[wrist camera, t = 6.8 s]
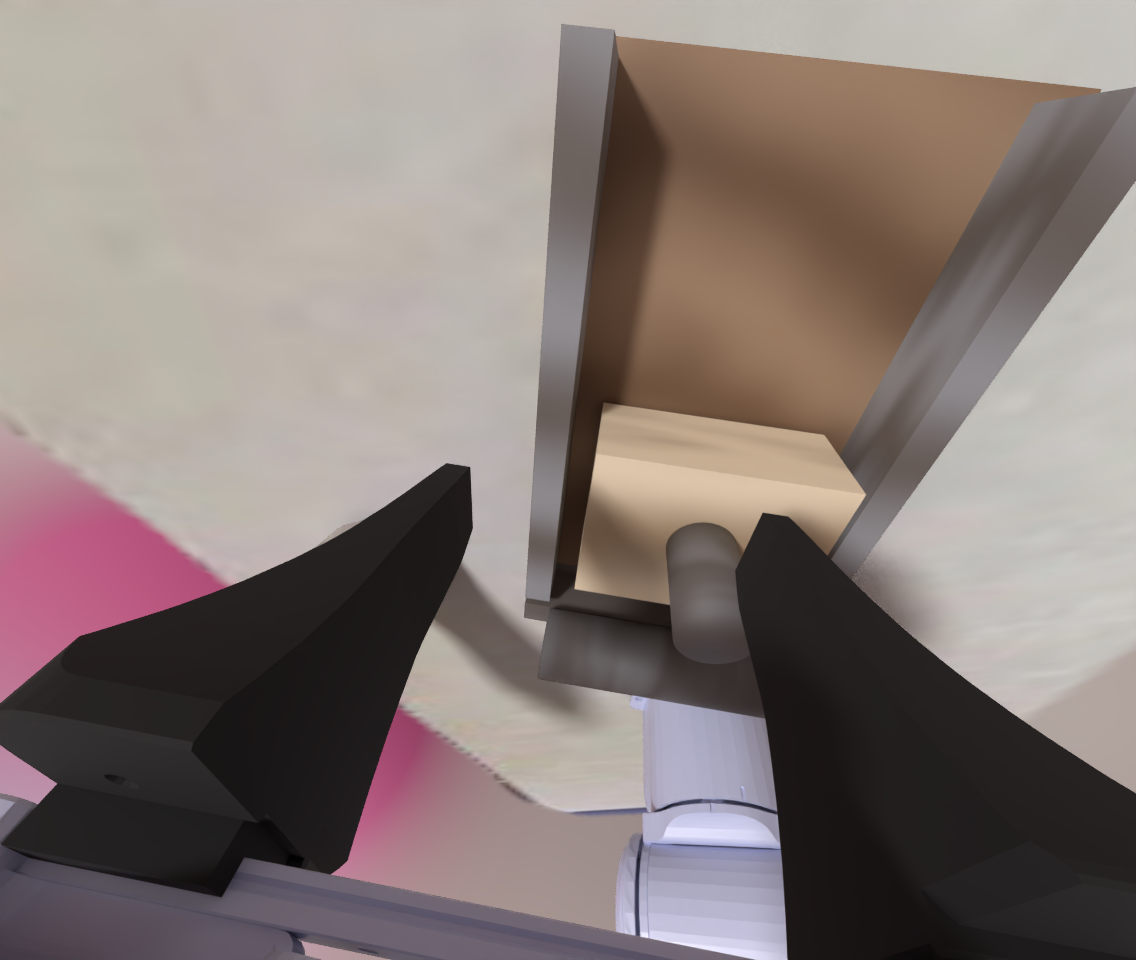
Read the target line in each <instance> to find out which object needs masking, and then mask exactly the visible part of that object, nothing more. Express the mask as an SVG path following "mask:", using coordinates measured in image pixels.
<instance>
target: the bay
mask: <svg viewBox="0 0 1136 960" xmlns="http://www.w3.org/2000/svg"><path fill="white" fill-rule="evenodd" d="M1101 90H1102V89H1094V88H1085V87H1076V86H1067V85H1058V84H1049V83H1039V82H1030V81H1021V80H1012V79H1003V78H994V77H984V76H975V75H966V74H957V73H948V72H939V71H929V70H920V69H911V68H902V67H893V66H884V65H874V64H865V63H856V62H847V61H838V60H829V59H819V58H810V57H801V56H792V55H783V54H774V53H764V52H755V51H746V50H737V49H728V48H719V47H709V46H700V45H691V44H682V43H673V42H664V41H654V40H645V39H636V38H627V37H618V36H615V30H612V29H602V28H593V27H584V26H575V25H565V24H562V25H561V41H560V57H559V73H558V88H557V104H556V120H555V136H554V152H553V168H552V184H551V199H550V215H549V231H548V247H547V263H546V279H545V295H544V310H543V326H542V342H541V358H540V374H539V390H538V406H537V421H536V437H535V453H534V469H533V485H532V501H531V517H530V532H529V548H528V564H527V580H526V596H525V598H526V601H525V612H524V618H529V619H535V620H540V621H546V622H547V624H546V629H545V634H544V640H543V646H542V652H541V659H540V666H539V673H538V679H542V680H548V681H553V682H559V683H565V684H570V685H576V686H582V687H587V688H593V689H599V690H604V691H610V692H616V693H621V694H627V695H633V696H639V697H644V698H650V699H656V700H661V701H667V702H673V703H678V704H684V705H690V706H695V707H701V708H707V709H712V710H718V711H724V712H730V713H735V714H741V715H747V716H752V717H758V718H764V719H765V715H764V710H763V705H762V700H761V696H760V692H759V688H758V684H757V680H756V676H755V672H754V668H753V664H752V660H751V656H748V657H746V658H744V659H742V660H739V661H736V662H732V663H726V664H707V663H702V662H697V661H694V660H692V659H689V658H687V657H685V656H684V655H682V654H681V653H680V652H679V651H678V650H677V649H676V647H675V646H674V643H673V636H672V623H671V610H670V605H667V604H661V603H655V602H649V601H643V600H637V599H631V598H625V597H619V596H613V595H607V594H601V593H595V592H589V591H583V590H577V589H574V588H575V581H576V575H577V568H578V561H579V554H580V547H581V540H582V534H583V527H584V521H585V514H586V508H587V502H588V496H589V489H590V483H591V477H592V471H593V465H594V458H595V452H596V446H597V440H598V433H599V427H600V421H601V415H602V409H603V403H610V404H617V405H624V406H630V407H637V408H644V409H651V410H658V411H665V412H671V413H678V414H685V415H692V416H699V417H705V418H712V419H719V420H726V421H733V422H740V423H746V424H753V425H760V426H767V427H774V428H781V429H787V430H794V431H801V432H808V433H815V434H822V435H825V437H826V438H827V439H828V441H829V442H830V444H831V445H832V447H833V448H834V449H835V451H836V452H837V454H838V455H839V457H840V458H841V459H842V461H843V462H844V464H845V465H846V467H847V468H848V469H849V471H850V472H851V474H852V475H853V477H854V478H855V479H856V481H857V482H858V484H859V485H860V487H861V488H862V489H863V491H864V492H865V494H866V496H865V498H864V499H863V501H862V502H861V504H860V505H859V507H858V509H857V510H856V512H855V513H854V515H853V516H852V518H851V520H850V521H849V523H848V524H847V526H846V527H845V529H844V531H843V532H842V534H841V535H840V537H839V538H838V540H837V541H836V543H835V545H834V546H833V548H832V549H831V551H830V552H829V554H828V557H829V558H830V559H831V560H832V561H833V562H834V563H835V564H836V565H837V566H838V567H839V568H840V569H841V570H842V571H843V572H844V573H845V574H846V575H847V576H848V577H849V578H850V579H851V578H852V577H853V575H854V574H855V573H856V571H857V570H858V568H859V567H860V566H861V564H862V563H863V561H864V560H865V559H866V557H867V556H868V554H869V553H870V552H871V550H872V549H873V547H874V546H875V545H876V543H877V542H878V540H879V539H880V538H881V536H882V535H883V533H884V532H885V531H886V529H887V528H888V526H889V525H890V524H891V522H892V521H893V519H894V518H895V517H896V515H897V514H898V512H899V511H900V510H901V508H902V507H903V505H904V504H905V503H906V501H907V500H908V498H909V497H910V496H911V494H912V493H913V491H914V490H915V489H916V487H917V486H918V484H919V483H920V482H921V480H922V479H923V477H924V476H925V475H926V473H927V472H928V470H929V469H930V468H931V466H932V465H933V463H934V462H935V461H936V459H937V458H938V456H939V455H940V454H941V452H942V451H943V449H944V448H945V447H946V445H947V444H948V442H949V441H950V440H951V438H952V437H953V435H954V434H955V433H956V431H957V430H958V428H959V427H960V426H961V424H962V423H963V421H964V420H965V419H966V417H967V416H968V415H969V413H970V412H971V410H972V409H973V408H974V406H975V405H976V403H977V402H978V401H979V399H980V398H981V396H982V395H983V394H984V392H985V391H986V389H987V388H988V387H989V385H990V384H991V382H992V381H993V380H994V378H995V377H996V375H997V374H998V373H999V371H1000V370H1001V368H1002V367H1003V366H1004V364H1005V363H1006V361H1007V360H1008V359H1009V357H1010V356H1011V354H1012V353H1013V352H1014V350H1015V349H1016V347H1017V346H1018V345H1019V343H1020V342H1021V340H1022V339H1023V338H1024V336H1025V335H1026V333H1027V332H1028V331H1029V329H1030V328H1031V326H1032V325H1033V324H1034V322H1035V321H1036V319H1037V318H1038V317H1039V315H1040V314H1041V312H1042V311H1043V310H1044V308H1045V307H1046V305H1047V304H1048V303H1049V301H1050V300H1051V298H1052V297H1053V296H1054V294H1055V293H1056V291H1057V290H1058V289H1059V287H1060V286H1061V284H1062V283H1063V282H1064V280H1065V279H1066V277H1067V276H1068V275H1069V273H1070V272H1071V270H1072V269H1073V268H1074V266H1075V265H1076V264H1077V262H1078V261H1079V259H1080V258H1081V257H1082V255H1083V254H1084V252H1085V251H1086V250H1087V248H1088V247H1089V245H1090V244H1091V243H1092V241H1093V240H1094V238H1095V237H1096V236H1097V234H1098V233H1099V231H1100V230H1101V229H1102V227H1103V226H1104V224H1105V223H1106V222H1107V220H1108V219H1109V217H1110V216H1111V215H1112V213H1113V212H1114V210H1115V209H1116V208H1117V206H1118V205H1119V203H1120V202H1121V201H1122V199H1123V198H1124V196H1125V195H1126V194H1127V192H1128V191H1129V189H1130V188H1131V187H1132V185H1133V184H1134V182H1135V181H1136V87H1134V88H1127V89H1121V90H1115V91H1108V92H1102V93H1100V91H1101Z"/></svg>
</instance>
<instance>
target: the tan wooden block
mask: <svg viewBox="0 0 1136 960" xmlns="http://www.w3.org/2000/svg"><path fill="white" fill-rule="evenodd" d="M865 496H866V494H865V492H864V491H863V489H862V488H861V487H860V485H859V484H858V482H857V481H856V479H855V478H854V477H853V475H852V474H851V472H850V471H849V469H848V468H847V467H846V465H845V464H844V462H843V461H842V459H841V458H840V457H839V455H838V454H837V452H836V451H835V449H834V448H833V447H832V445H831V444H830V442H829V441H828V439H827V438H826V437H825V435H822V434H815V433H808V432H801V431H794V430H787V429H781V428H774V427H767V426H760V425H753V424H746V423H740V422H733V421H726V420H719V419H712V418H705V417H699V416H692V415H685V414H678V413H671V412H665V411H658V410H651V409H644V408H637V407H630V406H624V405H617V404H610V403H603V409H602V415H601V421H600V427H599V433H598V440H597V446H596V452H595V458H594V465H593V471H592V477H591V483H590V489H589V496H588V502H587V508H586V514H585V521H584V527H583V534H582V540H581V547H580V554H579V561H578V568H577V575H576V581H575V588H574V589H577V590H583V591H589V592H595V593H601V594H607V595H613V596H619V597H625V598H631V599H637V600H643V601H649V602H655V603H661V604H667V605H670V610H671V623H672V636H673V643H674V646H675V647H676V649H677V650H678V651H679V652H680V653H681V654H682V655H684V656H685V657H687V658H689V659H692V660H694V661H697V662H702V663H707V664H726V663H732V662H736V661H739V660H742V659H744V658H746V657H748V656H750V652H749V648H748V644H747V640H746V636H745V632H744V628H743V624H742V619H741V615H740V611H739V605H738V596H737V587H736V575H735V570H736V568H737V566H738V563H739V561H740V559H741V557H742V555H743V553H744V551H745V549H746V547H747V544H748V542H749V540H750V538H751V536H752V534H753V532H754V530H755V528H756V526H757V523H758V521H759V519H760V517H761V515H762V513H769V514H776V515H782V516H788V517H790V518H791V519H792V520H793V521H794V522H795V523H796V524H797V525H798V526H799V527H800V528H801V529H802V530H803V531H804V532H805V533H806V534H807V535H808V536H809V537H810V538H811V539H812V540H813V541H814V542H815V543H816V544H817V545H818V546H819V547H820V548H821V550H822V551H823V552H824V553H825V554H826V555H827V556H828V554H829V552H830V551H831V549H832V548H833V546H834V545H835V543H836V541H837V540H838V538H839V537H840V535H841V534H842V532H843V531H844V529H845V527H846V526H847V524H848V523H849V521H850V520H851V518H852V516H853V515H854V513H855V512H856V510H857V509H858V507H859V505H860V504H861V502H862V501H863V499H864V498H865Z"/></svg>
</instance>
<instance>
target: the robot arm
mask: <svg viewBox="0 0 1136 960" xmlns="http://www.w3.org/2000/svg"><path fill="white" fill-rule="evenodd" d="M472 529H473V522H472V498H471V473H470V467H466V466H460V465H454V464H447V463H446V464H445V465H443V466H442V467H440V468H439V469H438V470H436V471H435V472H433V473H432V474H431V475H429V476H428V477H426V478H425V479H424V480H422V481H421V482H419V483H418V484H417V485H415V486H414V487H412V488H411V489H410V490H408V491H407V492H405V493H404V494H403V495H401V496H400V497H398V498H397V499H395V500H394V501H392V502H391V503H390V504H388V505H387V506H385V507H384V508H382V509H381V510H379V511H377V512H376V513H374V514H373V515H371V516H369V517H368V518H366V519H365V520H363V521H361V522H360V523H358V524H357V525H355V526H353V527H352V528H350V529H349V530H347V531H345V532H343V533H342V534H340V535H338V536H336V537H334V538H333V539H331V540H329V541H327V542H325V543H323V544H321V545H320V546H318V547H316V548H314V549H312V550H310V551H308V552H306V553H304V554H302V555H300V556H298V557H296V558H294V559H292V560H289V561H287V562H285V563H283V564H280V565H278V566H276V567H274V568H271V569H269V570H267V571H265V572H262V573H260V574H258V575H256V576H253V577H251V578H249V579H247V580H244V581H242V582H239V583H237V584H234V585H232V586H229V587H226V588H224V589H221V590H219V591H216V592H214V593H211V594H208V595H206V596H203V597H200V598H197V599H194V600H192V601H189V602H186V603H183V604H181V605H178V606H175V607H172V608H169V609H166V610H163V611H160V612H157V613H154V614H150V615H148V616H144V617H141V618H138V619H135V620H132V621H128V622H125V623H122V624H119V625H115V626H112V627H109V628H106V629H102V630H99V631H96V632H92V633H89V634H85V635H82V636H80V637H78V638H77V639H76V640H75V641H74V642H72V643H71V644H70V645H69V646H68V647H67V648H65V649H64V650H63V651H62V652H60V653H59V654H58V655H57V656H56V657H54V658H53V659H52V660H51V661H50V662H49V663H47V664H46V665H45V666H44V667H43V668H42V669H41V670H39V671H38V672H37V673H36V674H34V675H33V676H32V677H31V678H30V679H28V681H26V682H25V683H24V684H23V685H22V686H20V687H19V688H18V689H17V690H15V691H14V692H13V693H12V694H11V695H10V696H8V697H7V698H6V699H5V700H4V701H3V702H1V703H0V745H1V746H3V747H4V748H5V749H6V750H8V751H9V752H11V753H13V754H14V755H15V756H17V757H18V758H20V759H22V760H23V761H24V762H26V763H27V764H29V765H31V766H32V767H33V768H35V769H36V770H38V771H39V772H41V773H42V774H44V775H45V776H47V777H49V778H50V779H51V780H53V781H54V782H56V783H58V784H57V785H56V786H55V787H54V788H53V789H52V790H51V791H50V792H49V793H48V794H47V795H46V796H45V798H44V799H43V800H42V801H41V802H40V803H39V804H38V805H37V804H35V803H33V802H30V801H28V800H25V799H22V798H18V797H14V796H11V795H7V794H1V793H0V960H320V959H317V958H313V957H310V956H306V955H305V950H304V947H303V945H302V942H301V941H305V942H309V943H315V944H319V945H324V946H329V947H334V948H338V949H343V950H348V951H353V952H358V953H362V954H367V955H372V956H377V957H382V958H387V959H391V960H1136V793H1134V792H1133V791H1131V790H1129V789H1128V788H1126V787H1124V786H1123V785H1121V784H1119V783H1117V782H1116V781H1114V780H1113V779H1111V778H1109V777H1107V776H1106V775H1104V774H1103V773H1101V772H1100V771H1098V770H1096V769H1095V768H1094V767H1092V766H1090V765H1089V764H1087V763H1086V762H1084V761H1083V760H1081V759H1080V758H1078V757H1077V756H1075V755H1073V754H1072V753H1071V752H1069V751H1067V750H1066V749H1064V748H1063V747H1061V746H1060V745H1058V744H1057V743H1055V742H1054V741H1052V740H1051V739H1049V738H1047V737H1046V736H1044V735H1043V734H1042V733H1040V732H1039V731H1037V730H1036V729H1034V728H1033V727H1031V726H1030V725H1028V724H1027V723H1025V722H1024V721H1023V720H1021V719H1020V718H1018V717H1017V716H1015V715H1014V714H1012V713H1011V712H1010V711H1008V710H1007V709H1006V708H1004V707H1003V706H1001V705H1000V704H999V703H997V702H996V701H994V700H993V699H992V698H990V697H989V696H988V695H986V694H985V693H983V692H982V691H981V690H979V689H978V688H977V687H975V686H974V685H972V684H971V683H970V682H968V681H967V680H966V679H965V678H963V677H962V676H961V675H959V674H958V673H957V672H955V671H954V670H953V669H952V668H950V667H949V666H948V665H946V664H945V663H944V662H943V661H942V660H940V659H939V658H938V657H937V656H935V655H934V654H933V653H932V652H931V651H929V650H928V649H927V648H926V647H924V646H923V645H922V644H921V643H919V642H918V641H917V640H916V639H915V638H914V637H912V636H911V635H910V634H909V633H908V632H907V631H905V630H904V629H903V628H902V627H901V626H900V625H899V624H897V623H896V622H895V621H894V620H893V619H892V618H891V617H890V616H889V615H888V614H887V613H885V612H884V611H883V610H882V609H881V608H880V607H879V606H878V605H877V604H876V603H875V602H873V601H872V600H871V599H870V598H869V597H868V596H867V595H866V594H865V593H864V592H863V591H862V590H861V589H860V588H859V587H858V586H857V585H856V584H855V583H854V582H853V581H852V580H851V579H850V578H849V577H848V576H847V575H846V574H845V573H844V572H843V571H842V570H841V569H840V568H839V567H838V566H837V565H836V564H835V563H834V562H833V561H832V560H831V559H830V558H829V557H828V556H827V555H826V554H825V553H824V552H823V551H822V550H821V548H820V547H819V546H818V545H817V544H816V543H815V542H814V541H813V540H812V539H811V538H810V537H809V536H808V535H807V534H806V533H805V532H804V531H803V530H802V529H801V528H800V527H799V526H798V525H797V524H796V523H795V522H794V521H793V520H792V519H791V518H790V517H788V516H782V515H776V514H769V513H762V515H761V517H760V519H759V521H758V523H757V526H756V528H755V530H754V532H753V534H752V536H751V538H750V540H749V542H748V544H747V547H746V549H745V551H744V553H743V555H742V557H741V559H740V561H739V563H738V566H737V568H736V570H735V575H736V587H737V596H738V605H739V611H740V615H741V619H742V624H743V628H744V632H745V636H746V640H747V644H748V648H749V652H750V656H751V660H752V664H753V668H754V672H755V676H756V680H757V684H758V688H759V692H760V696H761V700H762V705H763V710H764V715H765V719H764V718H758V717H752V716H747V715H741V714H735V713H730V712H724V711H718V710H712V709H707V708H701V707H695V706H690V705H684V704H678V703H673V702H667V701H661V700H656V699H650V698H644V697H639V696H633V695H631V698H630V707H631V708H633V709H637V710H643V768H644V798H645V803H646V807H647V810H648V812H646V813H643V833H635V834H633V835H632V836H631V838H630V840H629V843H628V844H627V845H626V847H625V848H624V850H623V852H622V854H621V858H620V862H619V868H618V875H617V887H616V932H615V931H610V930H605V929H599V928H594V927H590V926H585V925H580V924H575V923H569V922H565V921H559V920H554V919H550V918H545V917H539V916H534V915H530V914H525V913H519V912H514V911H509V910H505V909H500V908H494V907H490V906H485V905H480V904H475V903H470V902H465V901H460V900H455V899H450V898H445V897H440V896H435V895H430V894H425V893H419V892H415V891H409V890H405V889H400V888H394V887H390V886H385V885H380V884H374V883H370V882H365V881H360V880H355V879H349V878H345V877H340V876H335V875H330V874H332V873H333V872H335V871H336V870H337V869H339V868H340V867H341V866H342V865H343V864H344V863H345V862H347V860H348V857H349V854H350V850H351V847H352V844H353V840H354V837H355V834H356V831H357V827H358V824H359V821H360V818H361V815H362V811H363V808H364V805H365V802H366V798H367V795H368V792H369V789H370V785H371V782H372V780H373V777H374V774H375V770H376V767H377V765H378V762H379V758H380V755H381V753H382V750H383V746H384V744H385V741H386V737H387V735H388V731H389V729H390V726H391V723H392V721H393V718H394V715H395V712H396V709H397V707H398V704H399V701H400V698H401V695H402V693H403V690H404V687H405V685H406V682H407V679H408V677H409V674H410V671H411V669H412V666H413V663H414V661H415V658H416V655H417V653H418V651H419V649H420V646H421V644H422V642H423V640H424V637H425V635H426V633H427V631H428V629H429V627H430V625H431V623H432V621H433V619H434V617H435V615H436V613H437V611H438V609H439V607H440V605H441V603H442V601H443V599H444V597H445V595H446V593H447V591H448V589H449V587H450V585H451V583H452V581H453V579H454V576H455V574H456V572H457V570H458V568H459V566H460V564H461V562H462V559H463V556H464V553H465V550H466V547H467V544H468V541H469V538H470V535H471V532H472ZM299 940H300V941H299Z"/></svg>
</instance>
